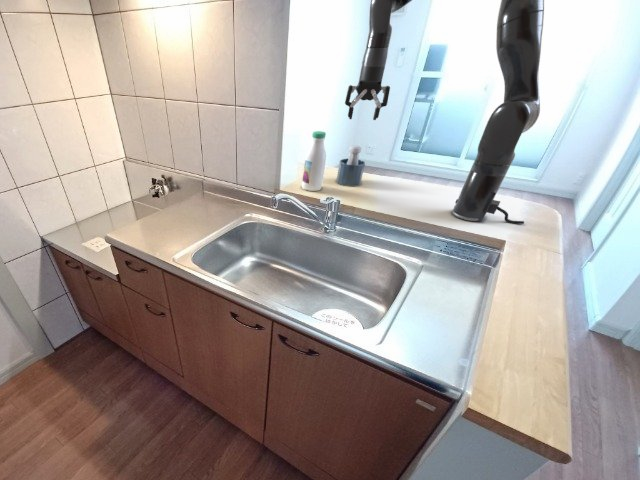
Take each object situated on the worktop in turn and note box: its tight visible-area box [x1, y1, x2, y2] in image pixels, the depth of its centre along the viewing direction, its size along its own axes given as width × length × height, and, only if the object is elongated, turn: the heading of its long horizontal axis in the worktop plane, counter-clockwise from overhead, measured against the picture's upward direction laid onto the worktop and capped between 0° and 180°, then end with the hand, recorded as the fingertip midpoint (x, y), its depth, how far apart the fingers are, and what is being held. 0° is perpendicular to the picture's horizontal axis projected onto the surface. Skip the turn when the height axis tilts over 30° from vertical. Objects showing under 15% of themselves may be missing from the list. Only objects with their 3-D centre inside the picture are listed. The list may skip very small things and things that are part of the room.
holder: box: [336, 158, 366, 187], centre depth 130 cm, size 10×10×8 cm
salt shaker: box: [347, 145, 362, 165], centre depth 128 cm, size 6×6×13 cm
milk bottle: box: [301, 130, 327, 192], centre depth 121 cm, size 8×8×20 cm
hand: (362, 119), depth 118 cm, fingers open, 8 cm apart
